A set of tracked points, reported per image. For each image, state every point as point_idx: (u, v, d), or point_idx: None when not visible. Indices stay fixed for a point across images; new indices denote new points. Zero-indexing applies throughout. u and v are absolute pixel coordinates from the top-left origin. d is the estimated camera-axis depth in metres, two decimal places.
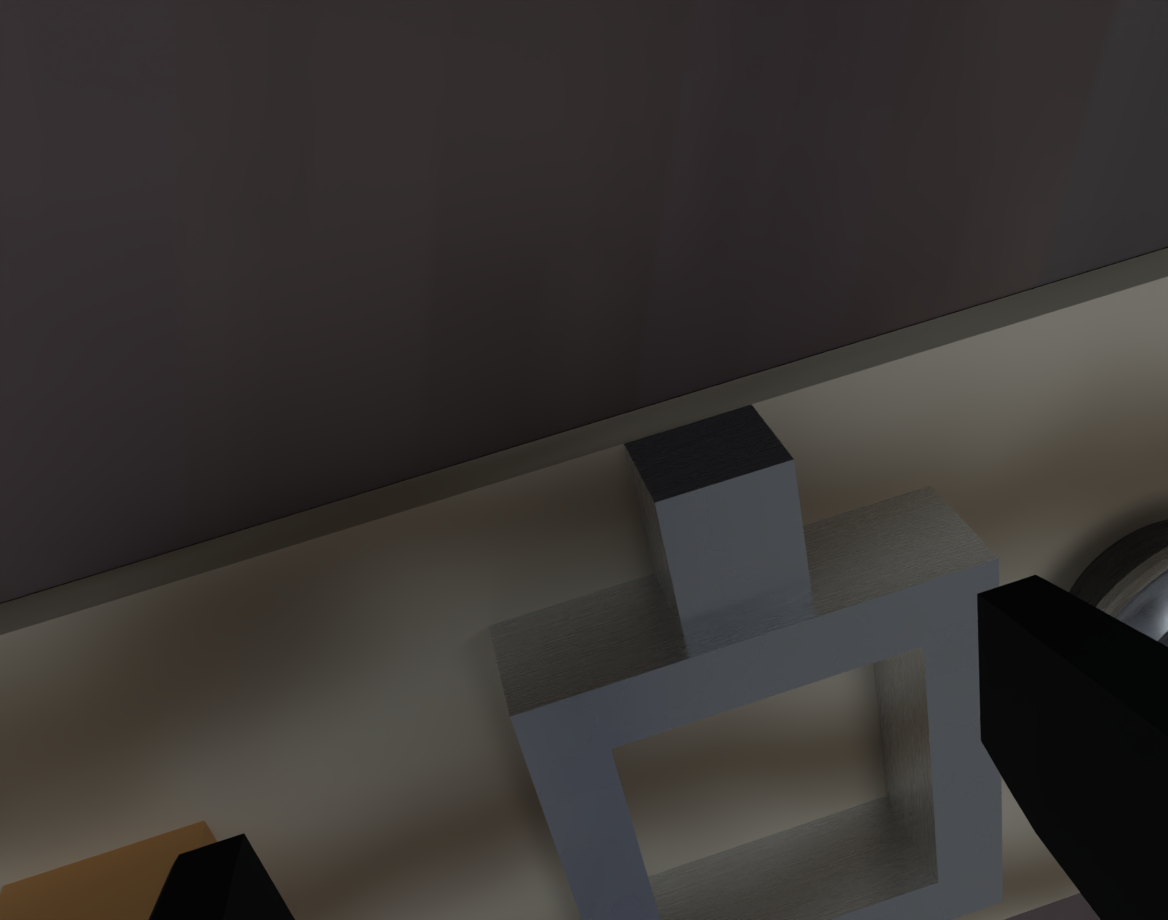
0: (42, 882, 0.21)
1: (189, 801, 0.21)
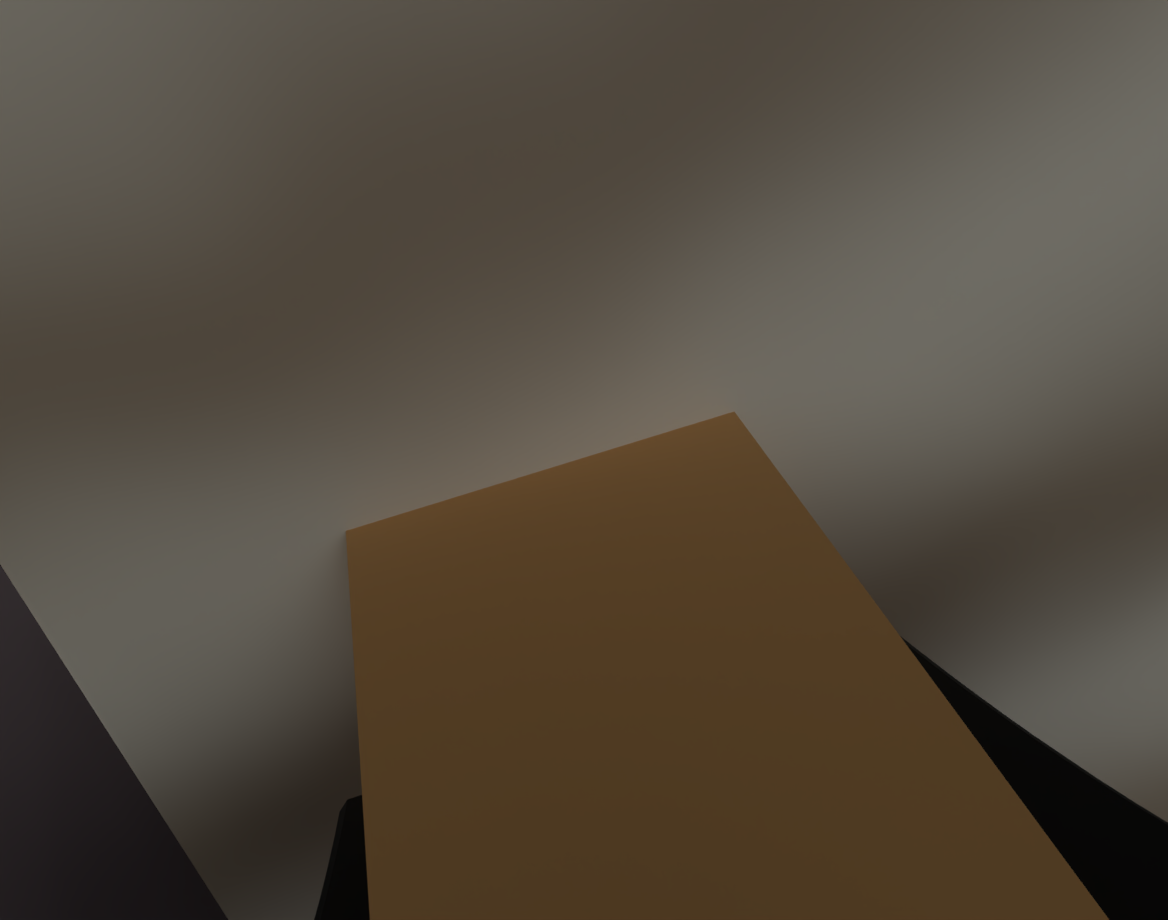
0: (430, 519, 0.10)
1: (719, 360, 0.11)
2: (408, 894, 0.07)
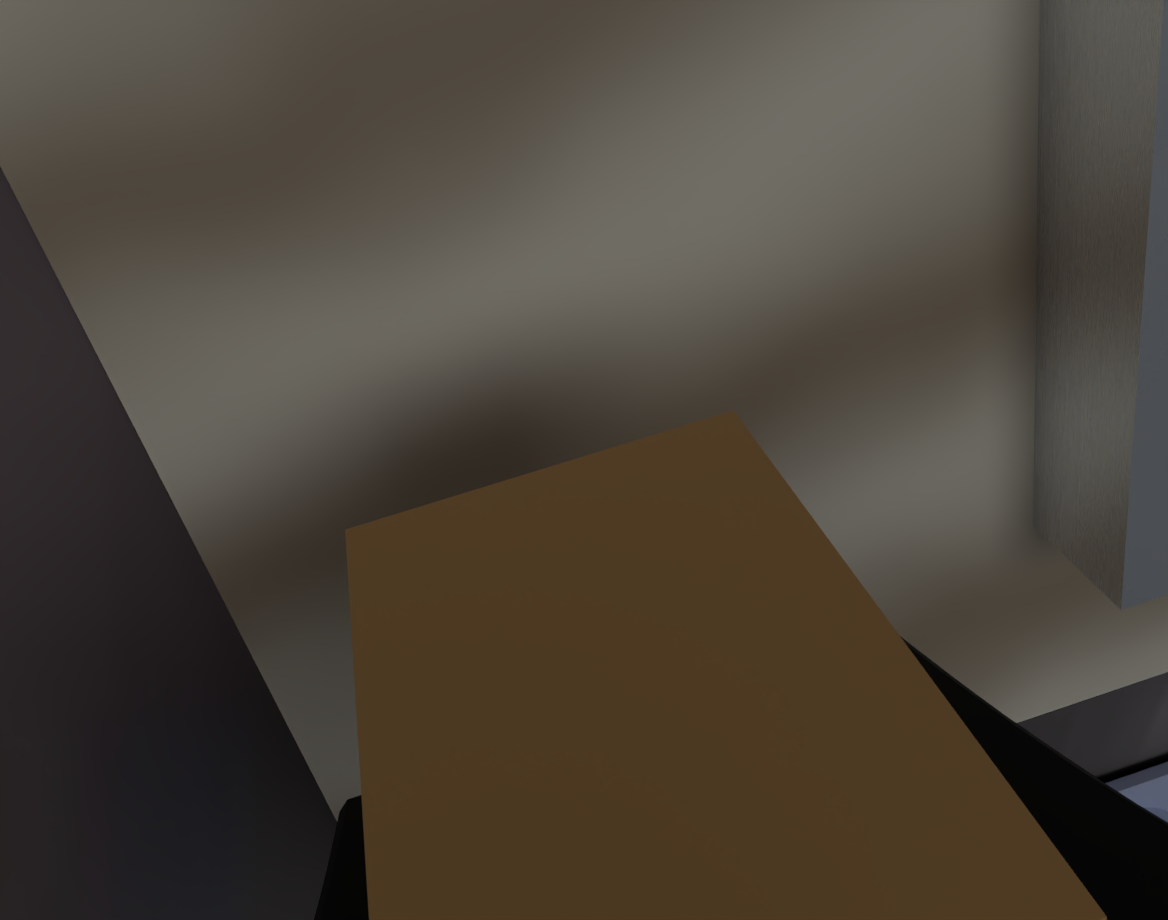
0: (429, 518, 0.10)
1: (595, 202, 0.15)
2: (407, 892, 0.07)
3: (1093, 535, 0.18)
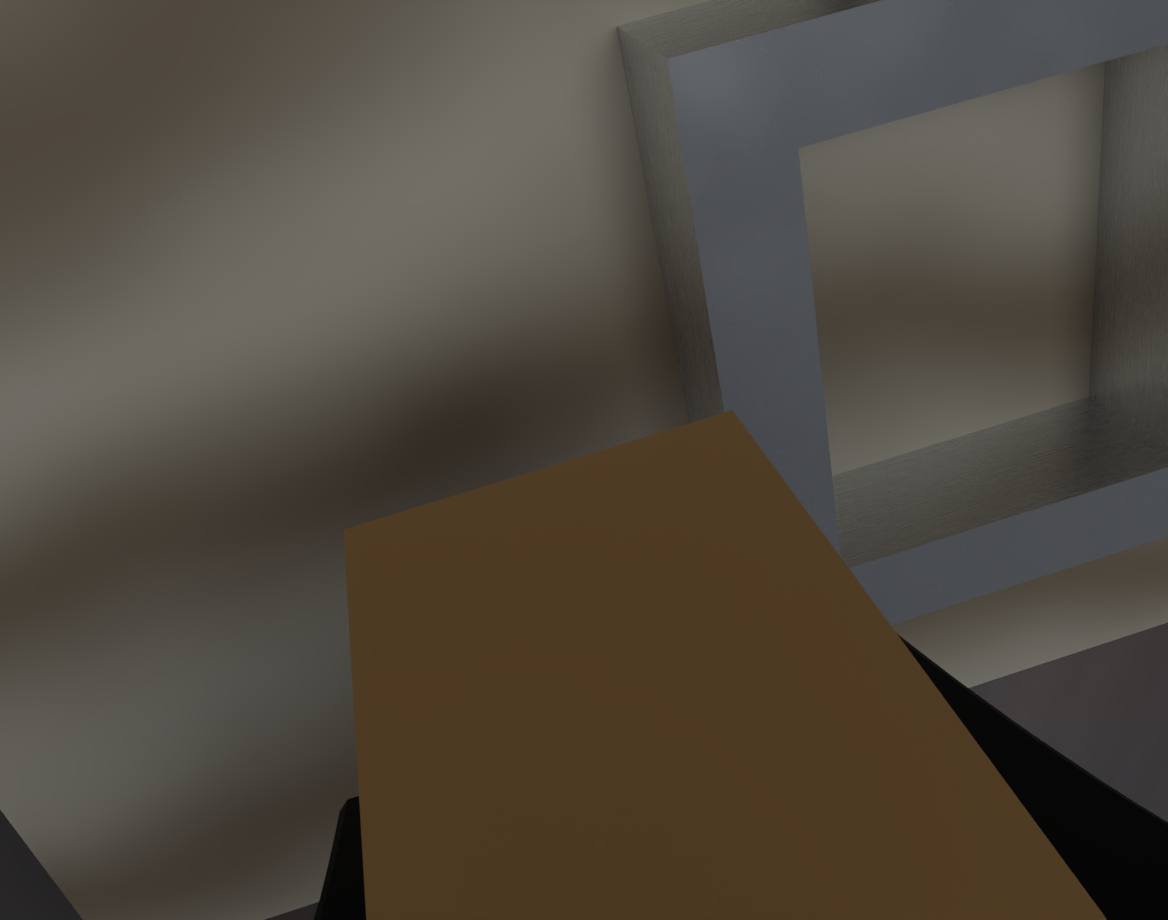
0: (427, 518, 0.10)
1: (203, 282, 0.16)
2: (404, 893, 0.07)
3: None
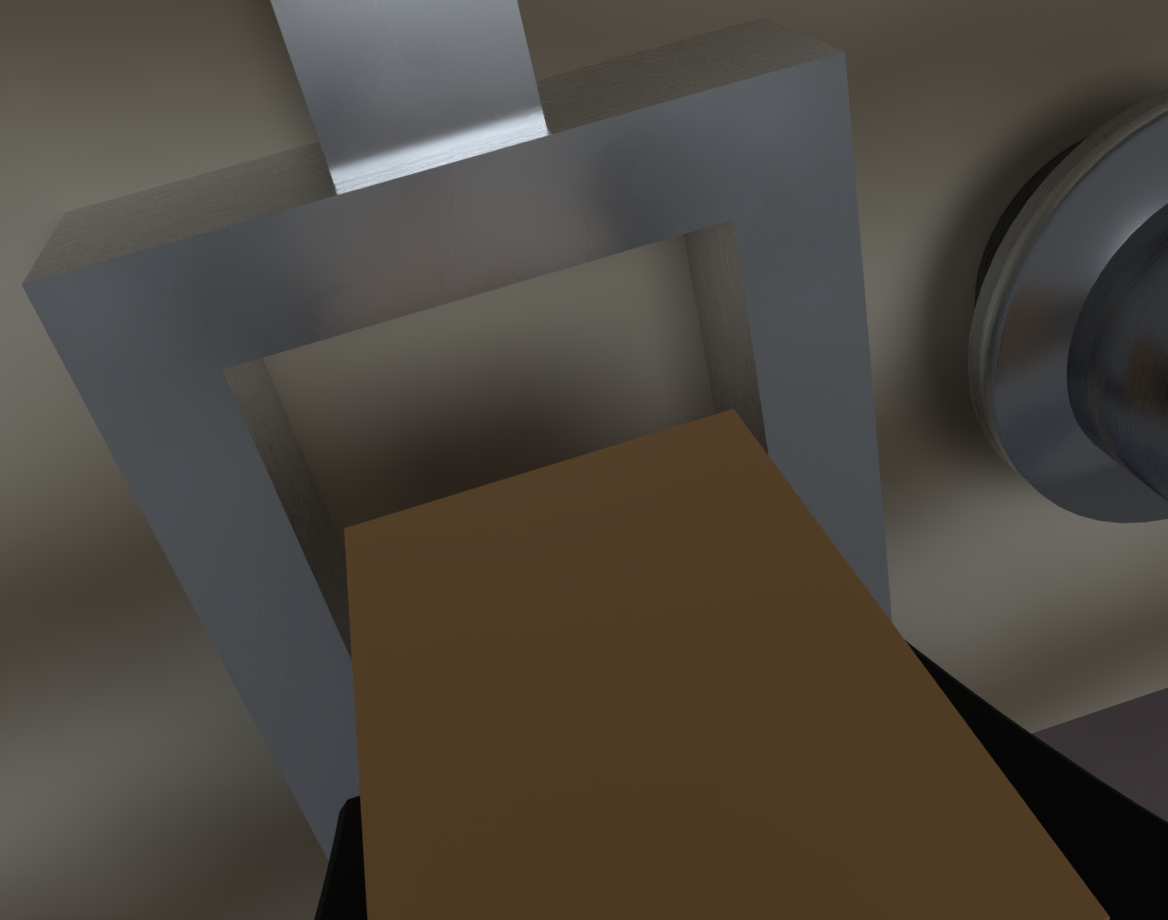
0: (428, 517, 0.10)
1: None
2: (406, 892, 0.07)
3: None
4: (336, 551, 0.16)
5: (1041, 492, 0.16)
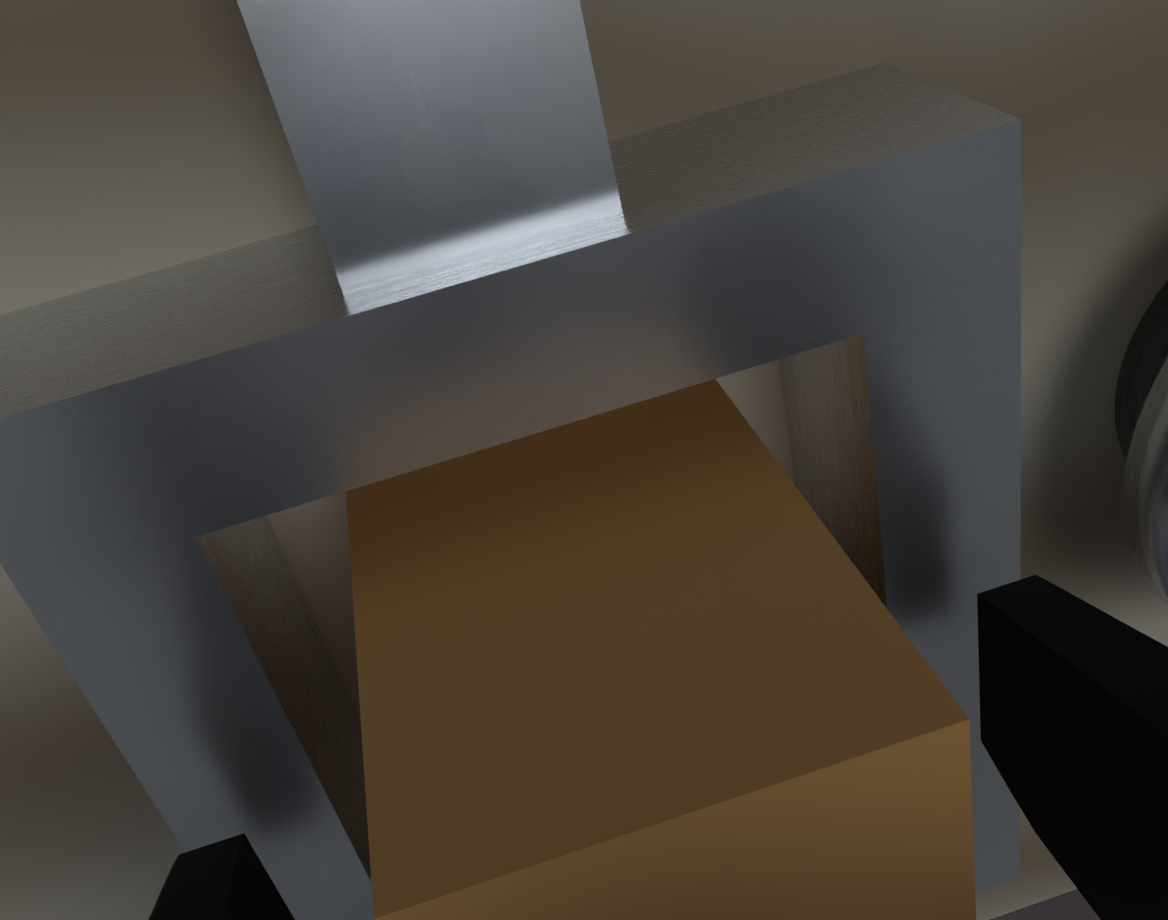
0: None
1: None
2: (394, 725, 0.08)
3: None
4: (343, 710, 0.13)
5: None
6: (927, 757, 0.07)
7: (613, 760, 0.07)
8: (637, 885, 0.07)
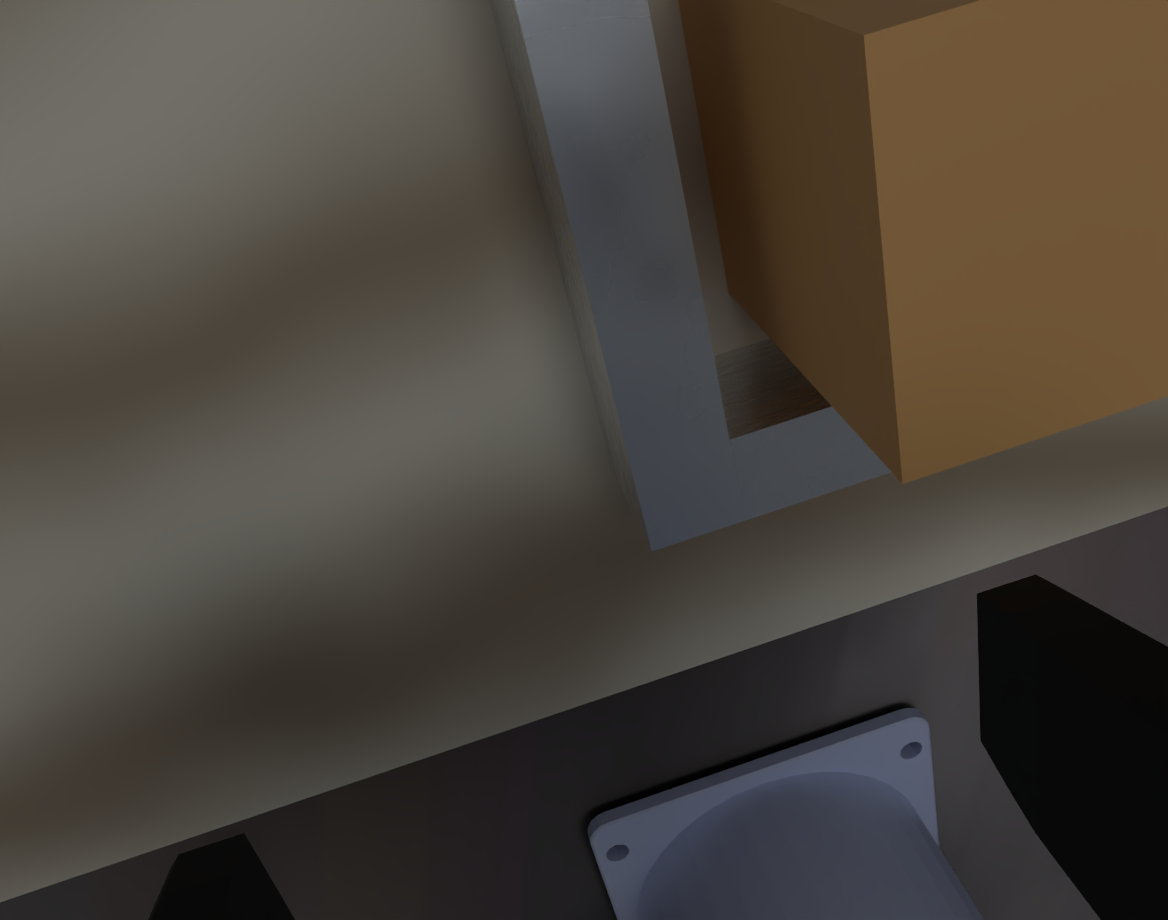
0: None
1: None
2: (818, 2, 0.11)
3: (625, 472, 0.17)
4: None
5: None
6: None
7: None
8: (1031, 42, 0.10)
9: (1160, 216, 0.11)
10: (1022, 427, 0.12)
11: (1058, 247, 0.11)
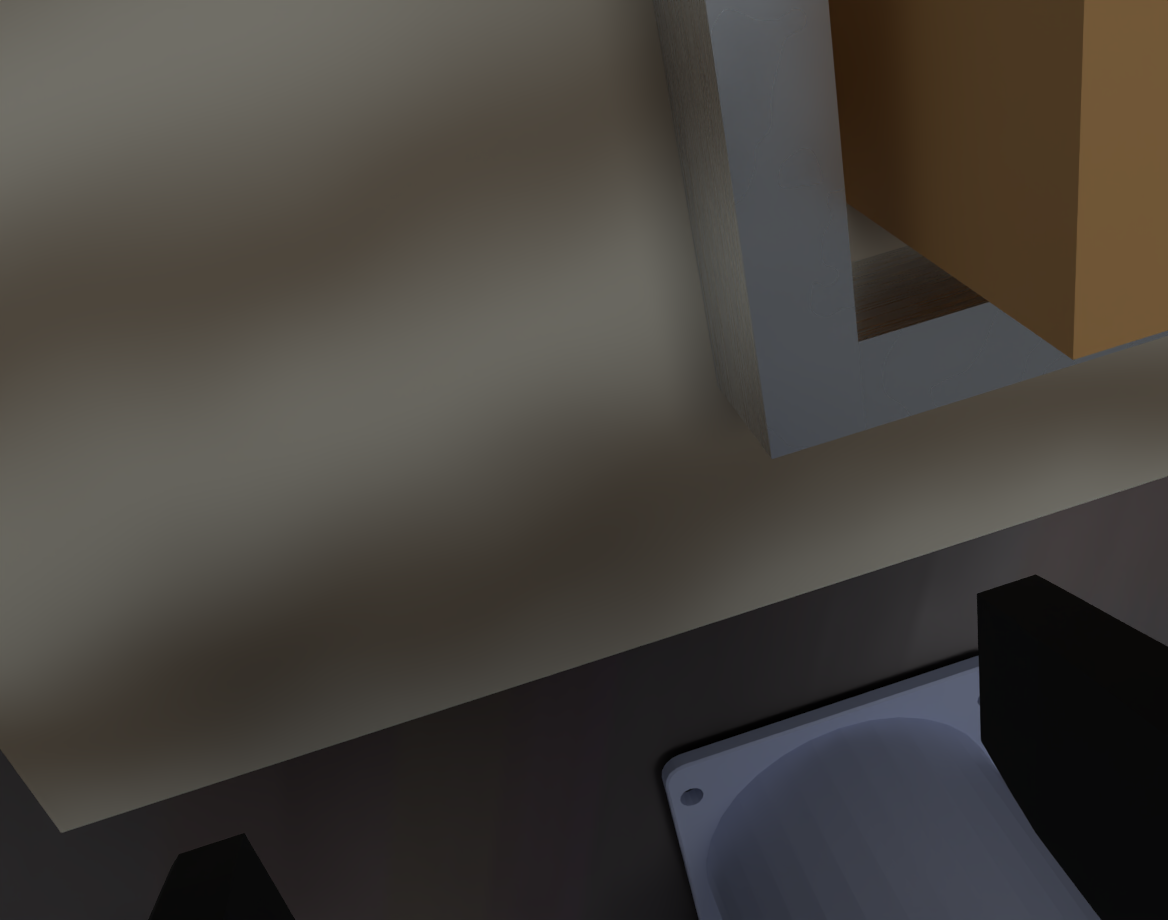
0: None
1: None
2: None
3: (744, 378, 0.16)
4: None
5: None
6: None
7: None
8: None
9: None
10: None
11: None
